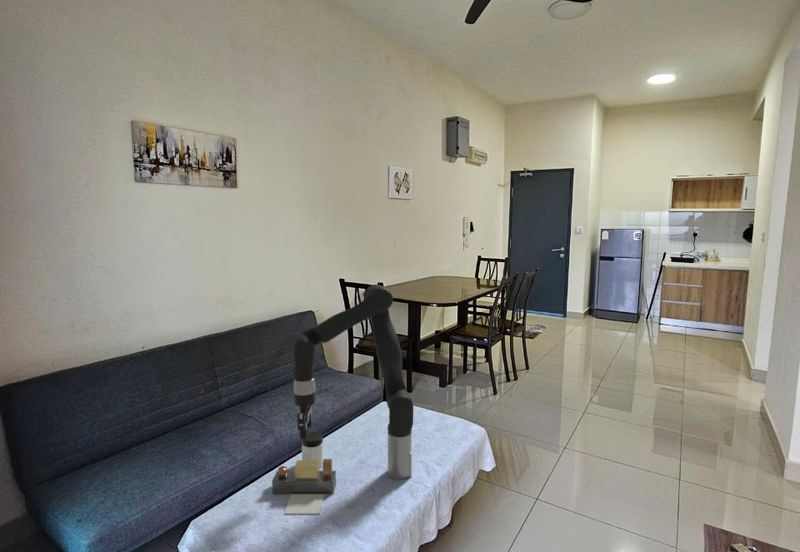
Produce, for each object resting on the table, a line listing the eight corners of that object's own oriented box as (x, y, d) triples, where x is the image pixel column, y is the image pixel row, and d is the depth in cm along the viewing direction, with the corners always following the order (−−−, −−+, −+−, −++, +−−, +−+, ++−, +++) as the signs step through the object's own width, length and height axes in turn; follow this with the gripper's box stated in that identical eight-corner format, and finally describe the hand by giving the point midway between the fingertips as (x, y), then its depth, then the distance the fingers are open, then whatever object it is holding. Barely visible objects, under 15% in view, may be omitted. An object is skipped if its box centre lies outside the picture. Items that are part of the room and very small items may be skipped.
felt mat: (324, 495, 160) (324, 494, 160) (320, 514, 150) (320, 513, 150) (291, 495, 160) (291, 494, 160) (284, 514, 150) (284, 513, 150)
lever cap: (319, 472, 165) (318, 460, 164) (317, 479, 161) (316, 466, 160) (297, 472, 165) (297, 460, 164) (295, 479, 161) (294, 466, 160)
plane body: (335, 483, 167) (335, 456, 165) (333, 494, 161) (332, 466, 159) (277, 483, 167) (276, 456, 165) (272, 494, 160) (271, 465, 159)
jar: (306, 472, 174) (305, 444, 172) (298, 462, 180) (297, 435, 179) (327, 465, 179) (326, 437, 177) (319, 456, 185) (318, 429, 183)
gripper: (311, 398, 151) (312, 442, 154) (318, 382, 165) (319, 423, 168) (289, 398, 151) (290, 442, 154) (298, 382, 165) (300, 423, 168)
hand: (306, 432), depth 161 cm, fingers open, 8 cm apart
